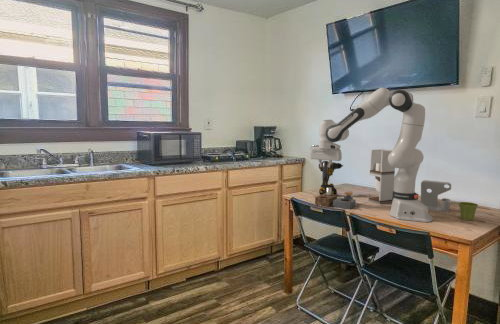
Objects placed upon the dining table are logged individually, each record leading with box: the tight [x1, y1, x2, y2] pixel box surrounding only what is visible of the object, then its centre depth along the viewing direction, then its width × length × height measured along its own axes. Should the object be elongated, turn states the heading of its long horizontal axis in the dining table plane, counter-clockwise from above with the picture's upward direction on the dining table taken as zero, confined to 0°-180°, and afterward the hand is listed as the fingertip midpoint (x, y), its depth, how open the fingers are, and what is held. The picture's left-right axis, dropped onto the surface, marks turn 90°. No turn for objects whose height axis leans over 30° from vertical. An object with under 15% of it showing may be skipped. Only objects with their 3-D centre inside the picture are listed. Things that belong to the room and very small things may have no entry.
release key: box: [344, 191, 354, 197], centre depth 223 cm, size 4×4×7 cm
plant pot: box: [458, 201, 479, 221], centre depth 190 cm, size 9×9×9 cm
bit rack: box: [314, 193, 338, 208], centre depth 223 cm, size 9×16×5 cm, turn 146°
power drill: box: [318, 161, 344, 196], centre depth 247 cm, size 8×19×25 cm, turn 111°
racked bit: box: [326, 187, 331, 196], centre depth 226 cm, size 3×3×10 cm
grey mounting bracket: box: [420, 179, 452, 213], centre depth 211 cm, size 17×10×18 cm, turn 55°
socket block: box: [332, 194, 357, 210], centre depth 219 cm, size 11×16×5 cm
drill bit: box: [321, 160, 329, 181], centre depth 218 cm, size 3×3×12 cm
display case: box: [367, 148, 396, 205], centre depth 228 cm, size 11×11×35 cm
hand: (325, 167), depth 217 cm, fingers closed on drill bit, 3 cm apart
